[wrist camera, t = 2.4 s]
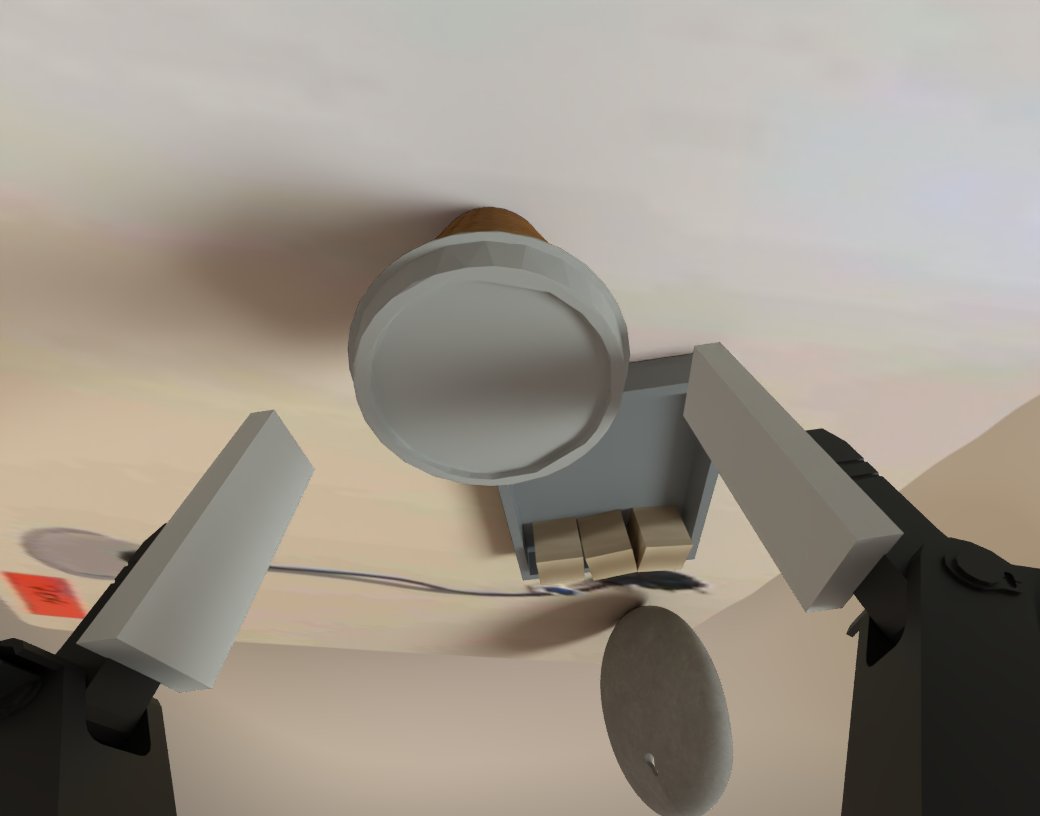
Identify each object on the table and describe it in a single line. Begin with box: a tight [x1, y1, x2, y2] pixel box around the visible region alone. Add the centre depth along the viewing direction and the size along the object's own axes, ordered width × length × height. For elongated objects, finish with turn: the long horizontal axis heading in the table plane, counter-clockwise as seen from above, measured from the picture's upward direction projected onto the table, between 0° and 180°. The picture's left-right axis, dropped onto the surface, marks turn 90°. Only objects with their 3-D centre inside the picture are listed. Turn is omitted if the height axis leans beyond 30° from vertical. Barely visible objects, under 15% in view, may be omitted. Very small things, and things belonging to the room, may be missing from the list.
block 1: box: [532, 517, 585, 585], centre depth 36 cm, size 4×4×4 cm
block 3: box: [626, 506, 693, 572], centre depth 35 cm, size 4×4×4 cm
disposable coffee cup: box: [348, 207, 630, 486], centre depth 17 cm, size 10×10×12 cm
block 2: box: [577, 509, 637, 580], centre depth 36 cm, size 4×4×4 cm
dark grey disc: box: [600, 606, 733, 816], centre depth 44 cm, size 18×7×19 cm, turn 155°
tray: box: [498, 354, 719, 580], centre depth 32 cm, size 22×17×3 cm
